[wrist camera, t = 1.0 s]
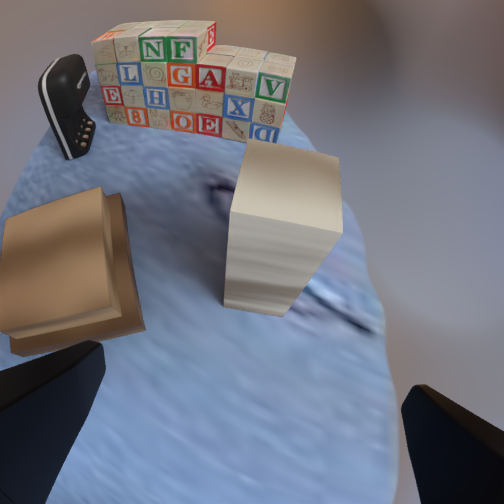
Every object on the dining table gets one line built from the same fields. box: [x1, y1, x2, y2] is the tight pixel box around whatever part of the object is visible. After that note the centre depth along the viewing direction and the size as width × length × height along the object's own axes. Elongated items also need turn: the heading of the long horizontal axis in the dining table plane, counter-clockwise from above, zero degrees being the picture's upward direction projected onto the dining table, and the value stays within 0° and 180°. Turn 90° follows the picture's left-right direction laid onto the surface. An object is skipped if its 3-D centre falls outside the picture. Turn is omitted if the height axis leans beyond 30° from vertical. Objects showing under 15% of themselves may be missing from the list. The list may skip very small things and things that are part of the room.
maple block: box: [0, 187, 122, 339], centre depth 18 cm, size 10×10×2 cm
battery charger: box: [38, 54, 96, 160], centre depth 24 cm, size 7×4×11 cm, turn 12°
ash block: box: [224, 138, 343, 317], centre depth 17 cm, size 4×4×12 cm
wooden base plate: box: [10, 193, 146, 357], centre depth 20 cm, size 12×12×2 cm
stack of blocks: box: [91, 20, 296, 144], centre depth 27 cm, size 21×6×12 cm, turn 78°
